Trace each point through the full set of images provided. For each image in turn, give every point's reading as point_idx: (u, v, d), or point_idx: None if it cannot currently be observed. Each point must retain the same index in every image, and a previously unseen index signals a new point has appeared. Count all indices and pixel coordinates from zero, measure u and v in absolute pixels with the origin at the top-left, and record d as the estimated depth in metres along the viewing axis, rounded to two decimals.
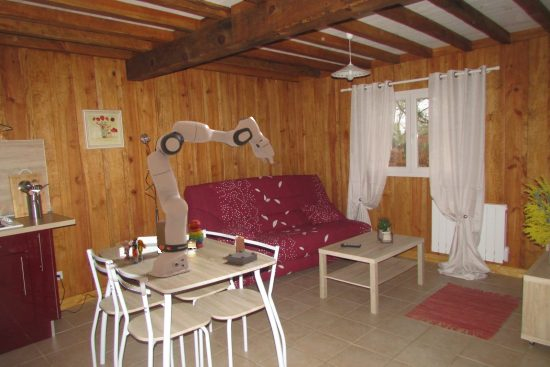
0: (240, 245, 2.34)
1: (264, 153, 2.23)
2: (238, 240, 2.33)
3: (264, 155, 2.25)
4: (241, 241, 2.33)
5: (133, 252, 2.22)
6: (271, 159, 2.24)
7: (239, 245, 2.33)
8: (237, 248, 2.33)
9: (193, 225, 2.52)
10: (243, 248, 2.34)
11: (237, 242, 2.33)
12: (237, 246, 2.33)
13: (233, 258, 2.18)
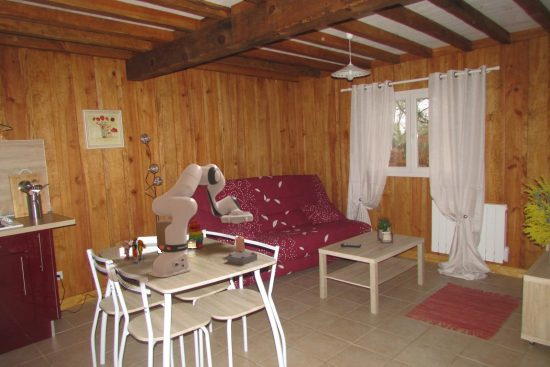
0: (240, 245, 2.34)
1: (245, 215, 2.55)
2: (238, 240, 2.33)
3: (243, 215, 2.53)
4: (241, 241, 2.33)
5: (133, 252, 2.22)
6: (247, 219, 2.50)
7: (239, 245, 2.33)
8: (237, 248, 2.33)
9: (193, 225, 2.52)
10: (243, 248, 2.34)
11: (237, 242, 2.33)
12: (237, 246, 2.33)
13: (233, 258, 2.18)
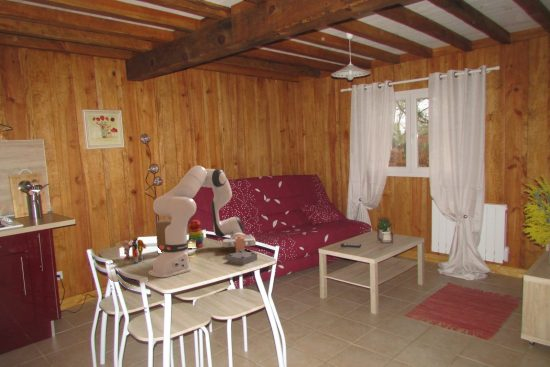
0: (240, 245, 2.34)
1: (247, 239, 2.43)
2: (238, 240, 2.33)
3: (245, 239, 2.42)
4: (241, 241, 2.33)
5: (133, 252, 2.22)
6: (247, 244, 2.38)
7: (239, 245, 2.33)
8: (237, 248, 2.33)
9: (193, 225, 2.52)
10: (243, 248, 2.34)
11: (237, 242, 2.33)
12: (237, 246, 2.33)
13: (233, 258, 2.18)
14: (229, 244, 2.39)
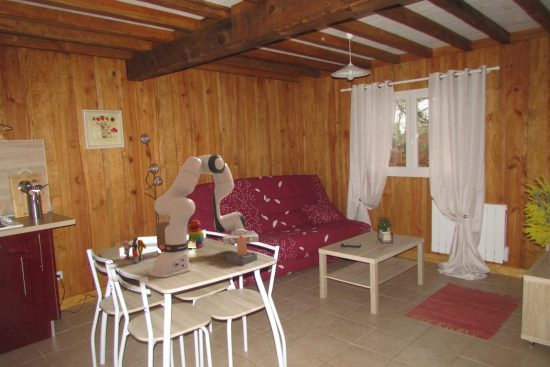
0: (242, 245, 2.19)
1: (249, 235, 2.29)
2: (240, 239, 2.19)
3: (247, 236, 2.27)
4: (242, 241, 2.19)
5: (133, 252, 2.22)
6: (251, 240, 2.24)
7: (241, 245, 2.19)
8: (239, 248, 2.19)
9: (193, 225, 2.52)
10: (245, 248, 2.20)
11: (239, 241, 2.19)
12: (239, 246, 2.19)
13: (233, 258, 2.18)
14: None
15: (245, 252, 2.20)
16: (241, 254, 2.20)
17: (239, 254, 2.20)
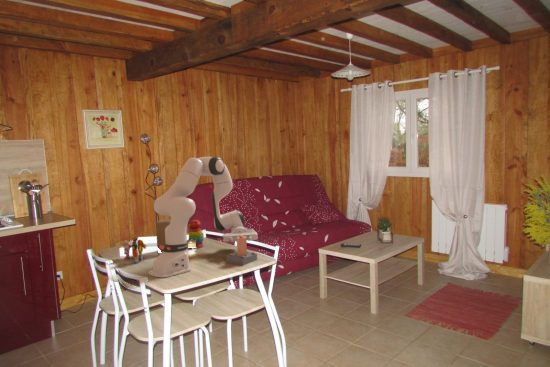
0: (242, 245, 2.19)
1: (249, 233, 2.34)
2: (240, 240, 2.19)
3: (247, 233, 2.32)
4: (242, 241, 2.19)
5: (133, 252, 2.22)
6: (251, 238, 2.29)
7: (241, 245, 2.19)
8: (239, 248, 2.19)
9: (193, 225, 2.52)
10: (245, 248, 2.19)
11: (239, 242, 2.19)
12: (239, 246, 2.19)
13: (233, 258, 2.18)
14: None
15: (245, 252, 2.20)
16: (241, 254, 2.19)
17: (239, 254, 2.19)
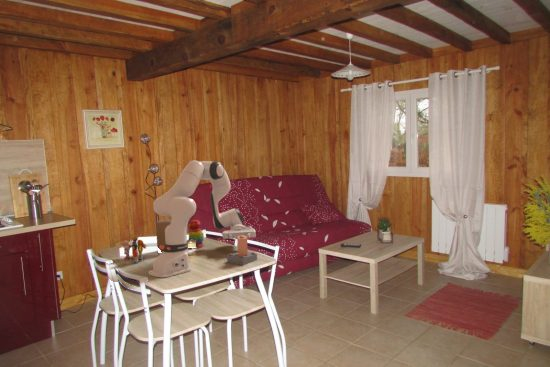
0: (243, 245, 2.19)
1: (247, 230, 2.42)
2: (240, 240, 2.18)
3: (245, 231, 2.40)
4: (243, 241, 2.18)
5: (133, 252, 2.22)
6: (249, 235, 2.37)
7: (242, 245, 2.19)
8: (239, 248, 2.19)
9: (193, 225, 2.52)
10: (246, 248, 2.19)
11: (239, 242, 2.18)
12: (239, 246, 2.18)
13: (233, 258, 2.18)
14: None
15: (246, 252, 2.20)
16: (242, 254, 2.19)
17: (240, 254, 2.19)
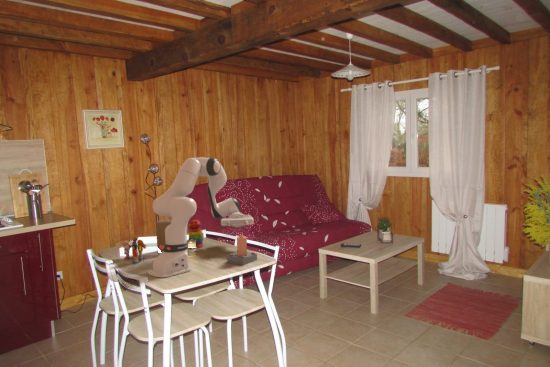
0: (242, 245, 2.19)
1: (245, 218, 2.45)
2: (240, 240, 2.19)
3: (243, 218, 2.44)
4: (243, 241, 2.19)
5: (133, 252, 2.22)
6: (247, 222, 2.41)
7: (241, 245, 2.19)
8: (239, 248, 2.19)
9: (193, 225, 2.52)
10: (245, 248, 2.20)
11: (239, 242, 2.19)
12: (239, 246, 2.19)
13: (233, 258, 2.18)
14: None
15: (245, 252, 2.20)
16: (241, 254, 2.20)
17: (239, 254, 2.19)
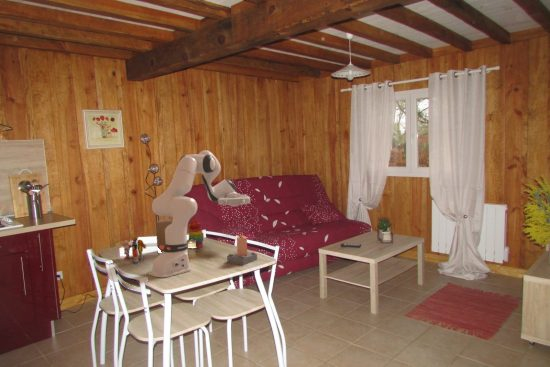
0: (242, 245, 2.19)
1: None
2: (240, 240, 2.19)
3: (240, 198, 2.50)
4: (243, 241, 2.19)
5: (133, 252, 2.22)
6: (244, 201, 2.47)
7: (241, 245, 2.19)
8: (239, 248, 2.19)
9: (193, 225, 2.52)
10: (245, 248, 2.20)
11: (239, 242, 2.19)
12: (239, 246, 2.19)
13: (233, 258, 2.18)
14: None
15: (246, 252, 2.20)
16: (241, 254, 2.20)
17: (239, 254, 2.19)
